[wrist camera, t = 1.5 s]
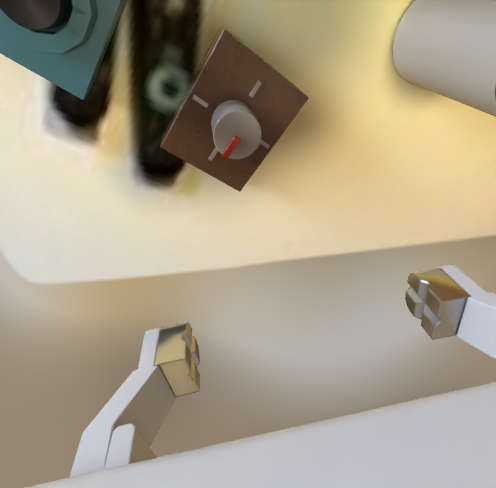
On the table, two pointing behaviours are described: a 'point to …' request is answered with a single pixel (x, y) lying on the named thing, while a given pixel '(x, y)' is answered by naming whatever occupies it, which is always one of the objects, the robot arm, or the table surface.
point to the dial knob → (235, 129)
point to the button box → (65, 44)
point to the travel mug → (450, 50)
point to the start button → (35, 13)
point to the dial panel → (223, 89)
